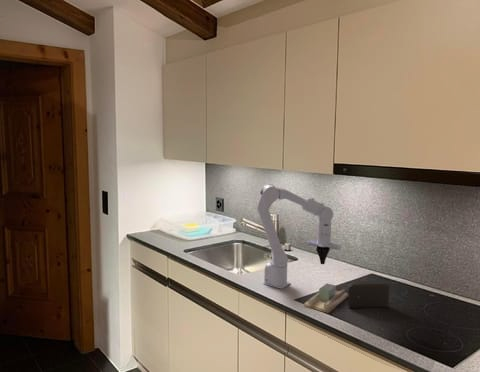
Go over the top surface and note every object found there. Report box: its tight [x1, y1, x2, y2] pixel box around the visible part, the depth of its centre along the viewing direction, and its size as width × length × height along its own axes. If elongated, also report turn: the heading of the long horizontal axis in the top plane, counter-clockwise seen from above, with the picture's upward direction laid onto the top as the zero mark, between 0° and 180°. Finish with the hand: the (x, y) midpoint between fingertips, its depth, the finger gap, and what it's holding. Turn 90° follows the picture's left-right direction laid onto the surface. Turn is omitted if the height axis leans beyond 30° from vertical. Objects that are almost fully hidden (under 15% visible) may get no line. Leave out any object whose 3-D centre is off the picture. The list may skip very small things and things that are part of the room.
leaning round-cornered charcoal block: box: [347, 280, 391, 309], centre depth 154 cm, size 16×5×9 cm, turn 96°
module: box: [318, 283, 337, 302], centre depth 159 cm, size 4×7×4 cm, turn 144°
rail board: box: [303, 288, 348, 314], centre depth 159 cm, size 10×20×2 cm, turn 144°
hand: (322, 263), depth 175 cm, fingers closed
